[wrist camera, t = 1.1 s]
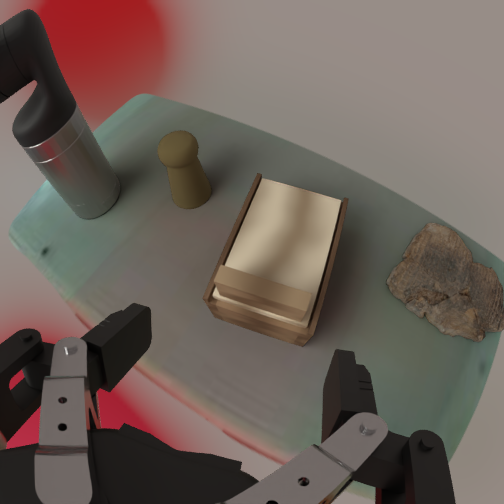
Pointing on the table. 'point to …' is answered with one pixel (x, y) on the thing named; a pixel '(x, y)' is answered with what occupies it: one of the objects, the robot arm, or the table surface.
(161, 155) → the tan pawn
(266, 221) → the cover plate
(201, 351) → the table surface
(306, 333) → the lid box
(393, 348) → the table surface
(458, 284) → the clay tablet
